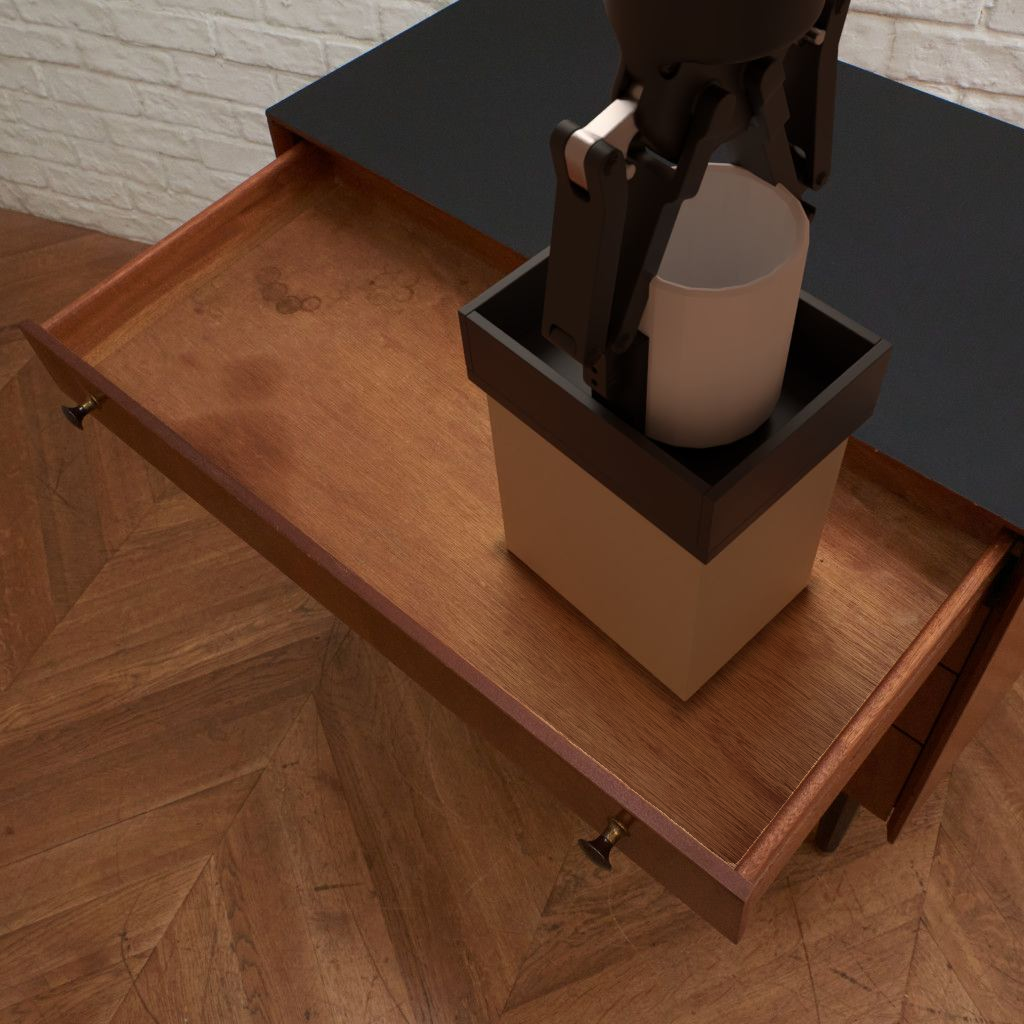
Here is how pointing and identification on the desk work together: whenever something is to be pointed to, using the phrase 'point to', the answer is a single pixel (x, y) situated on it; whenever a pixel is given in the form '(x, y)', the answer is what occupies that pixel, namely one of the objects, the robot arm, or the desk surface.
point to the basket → (658, 466)
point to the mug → (723, 310)
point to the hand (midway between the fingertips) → (682, 371)
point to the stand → (654, 558)
